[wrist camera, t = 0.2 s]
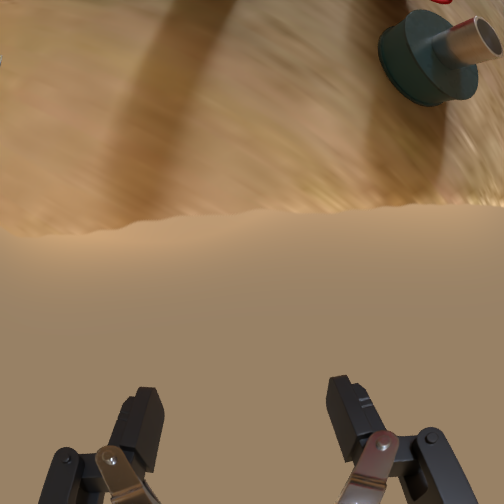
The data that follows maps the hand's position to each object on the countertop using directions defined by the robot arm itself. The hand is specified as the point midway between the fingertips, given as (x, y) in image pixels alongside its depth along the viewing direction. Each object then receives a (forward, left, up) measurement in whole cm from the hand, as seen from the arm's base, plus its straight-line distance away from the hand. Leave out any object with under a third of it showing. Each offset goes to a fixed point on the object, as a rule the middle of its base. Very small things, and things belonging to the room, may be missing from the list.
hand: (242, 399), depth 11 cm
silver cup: (-29, +32, -21) cm, 48 cm away
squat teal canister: (-29, +32, -29) cm, 52 cm away
